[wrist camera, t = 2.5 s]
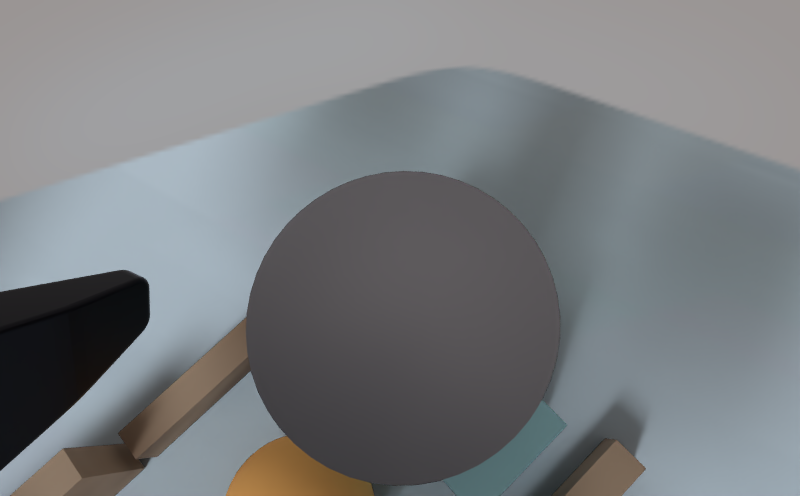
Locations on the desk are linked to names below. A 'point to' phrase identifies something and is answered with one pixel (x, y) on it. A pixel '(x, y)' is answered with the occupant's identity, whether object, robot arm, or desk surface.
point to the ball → (291, 475)
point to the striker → (408, 334)
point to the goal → (198, 391)
